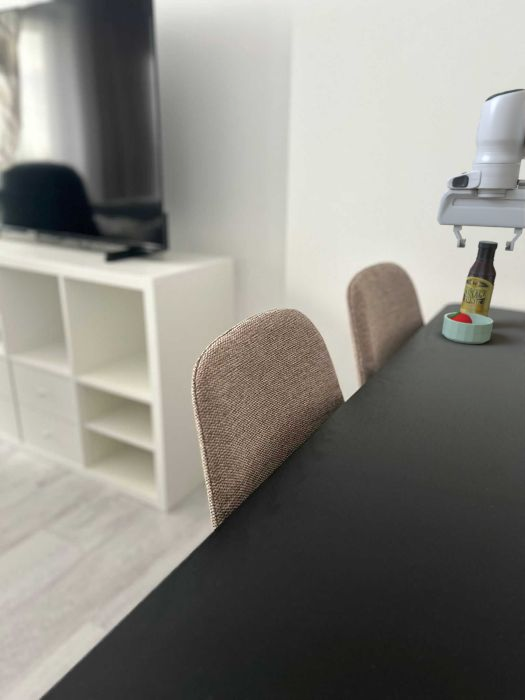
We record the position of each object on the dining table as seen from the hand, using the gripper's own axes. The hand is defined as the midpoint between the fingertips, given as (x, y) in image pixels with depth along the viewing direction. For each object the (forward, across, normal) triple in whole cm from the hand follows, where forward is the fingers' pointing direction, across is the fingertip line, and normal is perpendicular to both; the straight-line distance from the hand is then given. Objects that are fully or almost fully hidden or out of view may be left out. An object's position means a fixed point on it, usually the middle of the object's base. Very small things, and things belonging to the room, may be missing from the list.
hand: (484, 248), depth 107 cm
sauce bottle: (+20, +1, -10) cm, 22 cm away
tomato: (+18, +1, +2) cm, 18 cm away
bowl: (+19, +1, +1) cm, 19 cm away
